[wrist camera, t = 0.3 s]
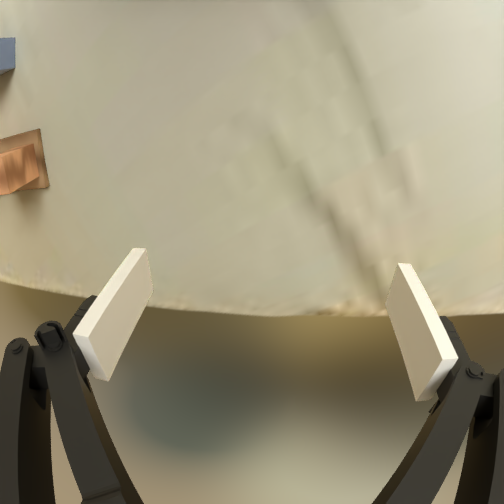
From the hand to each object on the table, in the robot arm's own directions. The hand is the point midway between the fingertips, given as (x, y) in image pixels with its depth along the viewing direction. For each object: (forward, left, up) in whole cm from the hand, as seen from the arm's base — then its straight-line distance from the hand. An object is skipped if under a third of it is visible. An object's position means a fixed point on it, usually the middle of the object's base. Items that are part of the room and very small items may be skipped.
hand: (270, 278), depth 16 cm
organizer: (-2, -46, -28) cm, 54 cm away
